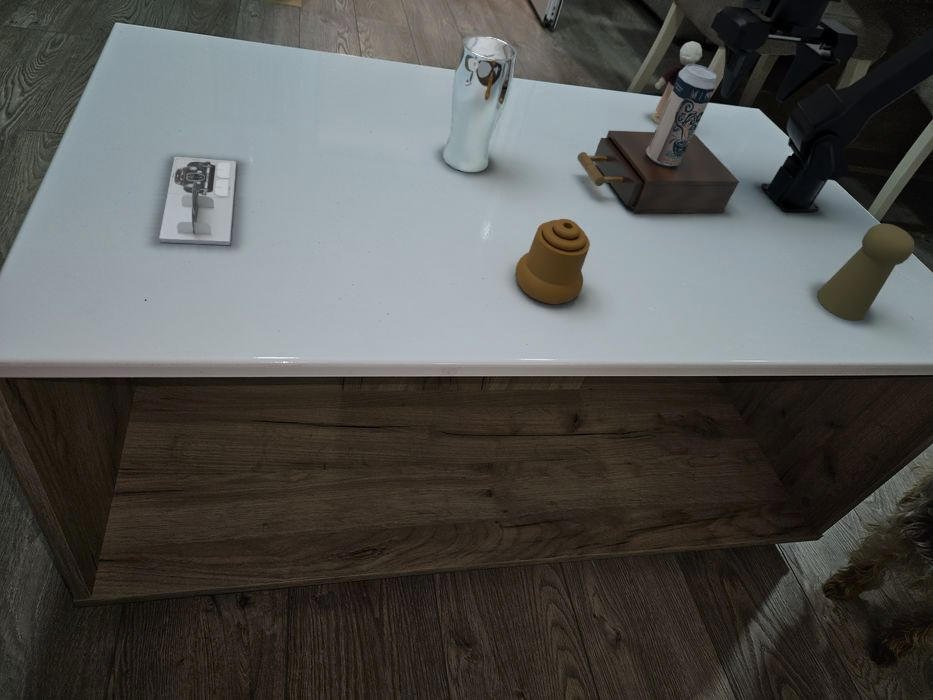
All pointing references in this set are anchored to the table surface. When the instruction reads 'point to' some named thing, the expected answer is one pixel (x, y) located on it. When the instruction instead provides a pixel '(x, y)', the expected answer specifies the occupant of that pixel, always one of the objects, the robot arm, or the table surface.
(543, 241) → the ornamental finial
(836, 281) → the game pawn
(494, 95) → the beer glass
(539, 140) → the table surface
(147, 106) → the table surface
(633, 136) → the cabinet
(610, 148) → the drawer
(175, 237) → the white flat box
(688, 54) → the grandmother figurine
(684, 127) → the beer can
